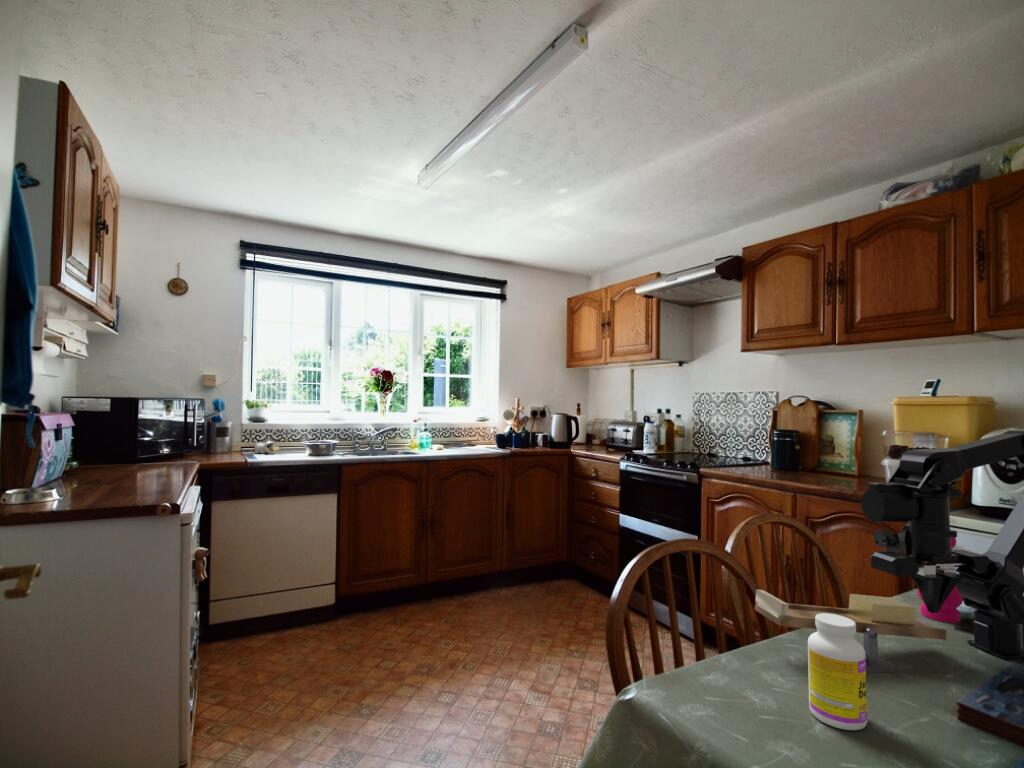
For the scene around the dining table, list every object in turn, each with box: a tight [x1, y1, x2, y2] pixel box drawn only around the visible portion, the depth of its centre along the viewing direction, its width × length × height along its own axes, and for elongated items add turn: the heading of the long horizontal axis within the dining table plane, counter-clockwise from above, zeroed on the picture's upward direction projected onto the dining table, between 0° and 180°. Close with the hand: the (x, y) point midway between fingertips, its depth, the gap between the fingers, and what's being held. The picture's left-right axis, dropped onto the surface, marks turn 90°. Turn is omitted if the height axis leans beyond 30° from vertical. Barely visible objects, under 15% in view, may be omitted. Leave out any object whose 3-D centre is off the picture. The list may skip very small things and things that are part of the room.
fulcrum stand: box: [825, 606, 897, 674], centre depth 88 cm, size 6×12×6 cm, turn 7°
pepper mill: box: [916, 537, 964, 624], centre depth 106 cm, size 7×7×20 cm
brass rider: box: [848, 593, 917, 626], centre depth 89 cm, size 8×5×4 cm, turn 97°
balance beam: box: [754, 589, 948, 641], centre depth 88 cm, size 30×7×4 cm, turn 97°
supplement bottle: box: [807, 613, 868, 731], centre depth 70 cm, size 7×7×13 cm
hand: (932, 612), depth 90 cm, fingers closed
